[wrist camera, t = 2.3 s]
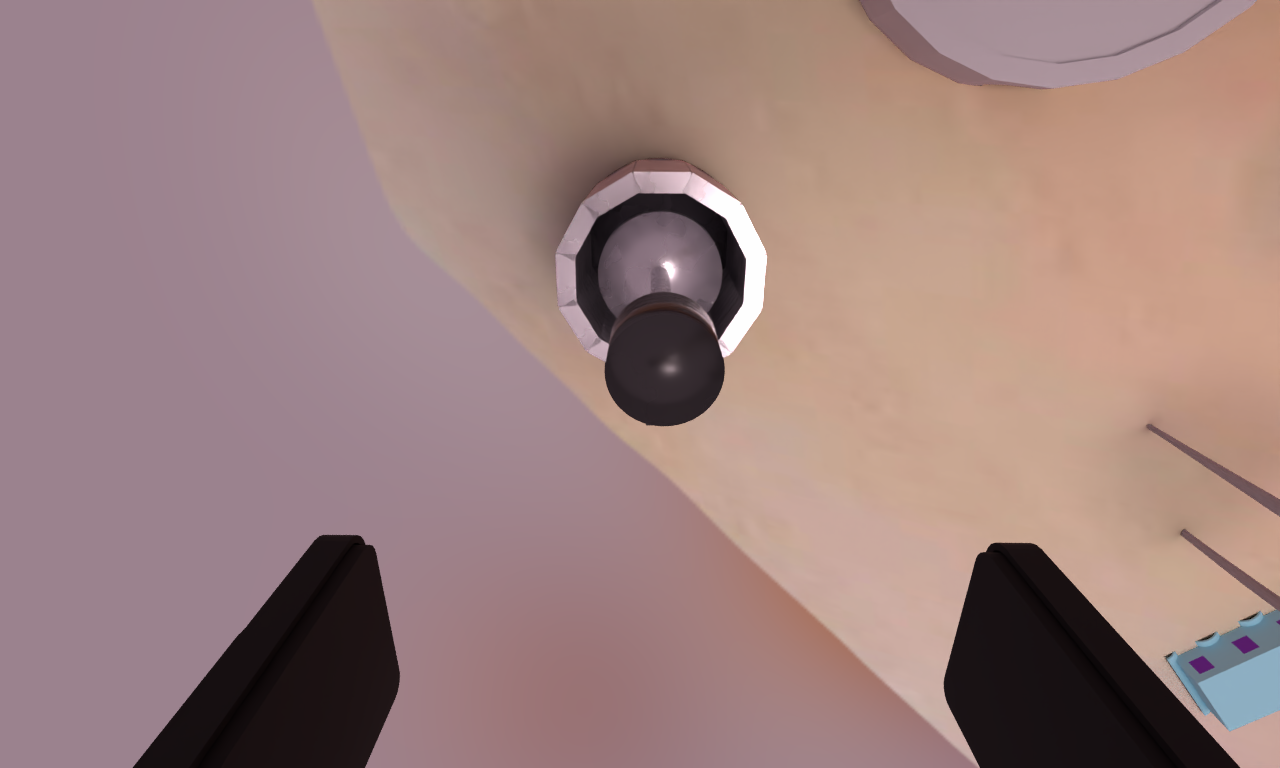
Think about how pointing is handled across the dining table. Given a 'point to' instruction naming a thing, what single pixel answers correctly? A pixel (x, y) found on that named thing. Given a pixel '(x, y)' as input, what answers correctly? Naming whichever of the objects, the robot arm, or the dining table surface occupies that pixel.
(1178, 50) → the ashtray
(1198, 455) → the juicer
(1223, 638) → the light blue block row
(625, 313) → the plunger
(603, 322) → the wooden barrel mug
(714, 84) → the dining table surface
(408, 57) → the dining table surface
